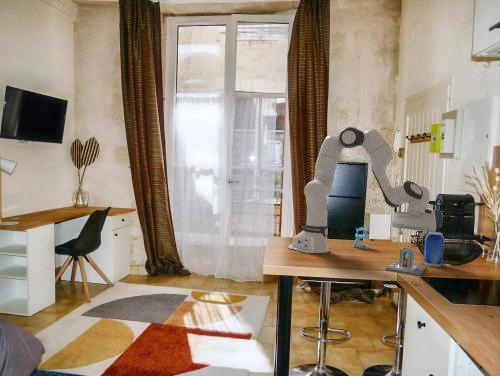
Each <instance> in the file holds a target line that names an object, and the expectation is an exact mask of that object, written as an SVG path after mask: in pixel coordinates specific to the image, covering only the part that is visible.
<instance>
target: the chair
mask: <svg viewBox="0 0 500 376" xmlns="http://www.w3.org/2000/svg"><path fill="white" fill-rule="evenodd" d="M355 231H356V233H355V234H354V235H355V236H354V237H355V239H354V242H353V244H352V246H353V248H357V249H363V250H369V246H368V244H359V243H358V242H359V241H360V240H361V239H368V235H367V233H368V231H369V230H368V228H367V227H363V226H360V227H358V228H355ZM361 231H362V232H364V233H363V234H359V232H361Z"/></svg>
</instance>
